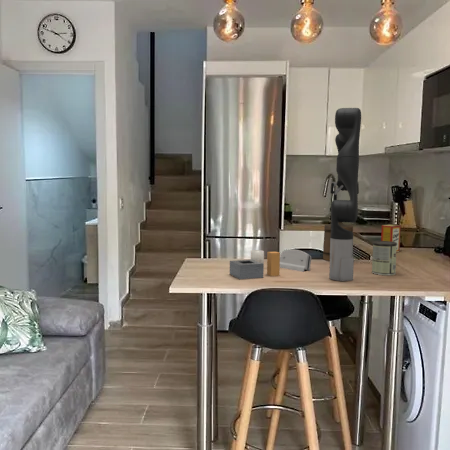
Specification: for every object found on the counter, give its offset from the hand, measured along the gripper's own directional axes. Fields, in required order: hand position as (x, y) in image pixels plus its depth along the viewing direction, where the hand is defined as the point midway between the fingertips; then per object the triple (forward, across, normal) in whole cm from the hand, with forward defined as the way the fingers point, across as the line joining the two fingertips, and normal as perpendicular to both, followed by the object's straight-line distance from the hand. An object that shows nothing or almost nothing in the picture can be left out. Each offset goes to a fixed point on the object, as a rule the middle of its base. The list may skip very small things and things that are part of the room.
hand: (344, 200), depth 252 cm
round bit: (+12, -38, -55) cm, 68 cm away
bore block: (+8, -40, -68) cm, 79 cm away
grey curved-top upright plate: (+16, -22, -45) cm, 53 cm away
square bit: (+10, -30, -63) cm, 70 cm away
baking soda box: (+40, +27, +19) cm, 52 cm away
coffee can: (+16, +18, -46) cm, 52 cm away
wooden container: (+27, -3, -16) cm, 32 cm away
